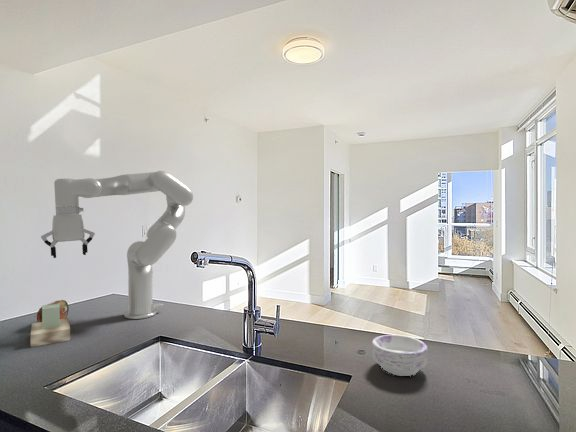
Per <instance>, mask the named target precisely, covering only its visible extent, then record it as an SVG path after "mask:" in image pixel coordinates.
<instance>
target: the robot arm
mask: <svg viewBox="0 0 576 432" xmlns="http://www.w3.org/2000/svg"><path fill="white" fill-rule="evenodd" d="M53 182H54V183H53V184H54V185H53V186H54V203H55V205H54V207H55V215H53V217H52V230H50V231H48V232H46V233H44V234H42V235H41V236H40V239H41V240H42V241H43V242H44V244H45V245H46V246H49V247H50V256H51V257H52V256H53V257H52V258H53V259H56V258H57V248H56V245H57V243H58V242H59V243H60V242H62V243H63V242H73V241H74V242H75V241H81V242H82V245H81V246H82V255H84V256H86V255H87V253H88V245H89V244H90V243H91V241H92V240H93V238H94V236H95V232H94V231H90V230H88V229H86V228H85V226H84V221H83V217H82V214H80V213H81V212H84V207H80V203H79V202H80V201H79V200H80V199H79V198H80V197H81V198H85V199H92V198H98V197H99V198H101V197H108V196H128V195H138V194H145V193H147V194H148V193H154V192H161V193H162V194H163V195H165V197H166V198H165V199H166V204H167V205H166V206H167V207H166V210H165V211H164V212H163V214H162V215H161V216H160V217H159V218H158V219H157V220H156V221H155V222H154V223H152V225H151V226H150V227H149V228H148V229H147V232H146V237H147V238H146V239H145V240H144V241H142V240H139V241H135V242H133V243H132V244H131V245H130V246H129V247H128V249H127V253H126V259H127V268H128V279H127V280H128V282H127V283H128V284H127V285H128V288H127V289H128V290H127V292H128V295H127V296H128V297H127V299H128V300H127V303H128V306H127V307H128V308H127V310H126V312H124V314H123V315H124V318H126V319H129V320H140V319H147V318H151V317H153V316H155V315H156V314H157V310H158V309H164V307H165V304H164V303H159V302H157V303H154V302H153V278H154V277H153V275H154V274H153V265H154V264H156V263H157V262H159V260H160V259H161V258H162V256H164V254H165V253H166V252H168V250H169V249H170V248H171V247H172V246H173V244H174V243H175V241H176V239H177V228H178V227H179V226H180V225H181V223H182V222H183V220H184V219H185V216H186V206H189V205H190V204H191V203H192V202H193V200H194V195H193V192H192V190H191V189H190V188H189V187H188V186H187V185H185V184H184V183H183V182H181V181H180V180H178V179H177V178H176V177H174V176H173V175H171V174H170V173H168V172H166V171H164V170H158V171H151V172H143V173H142V172H140V173H130V174H129V173H127V174H121V175H116V176H112V177H105V178H104V177H103V178H89V177H88V178H78V179H75V178H56V179H55V180H54V181H53ZM85 234H88V235H89V236H88V238H87V239H85ZM50 236H52V240H53V241H50V240H48V239H47V238H48V237H50Z"/></svg>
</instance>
